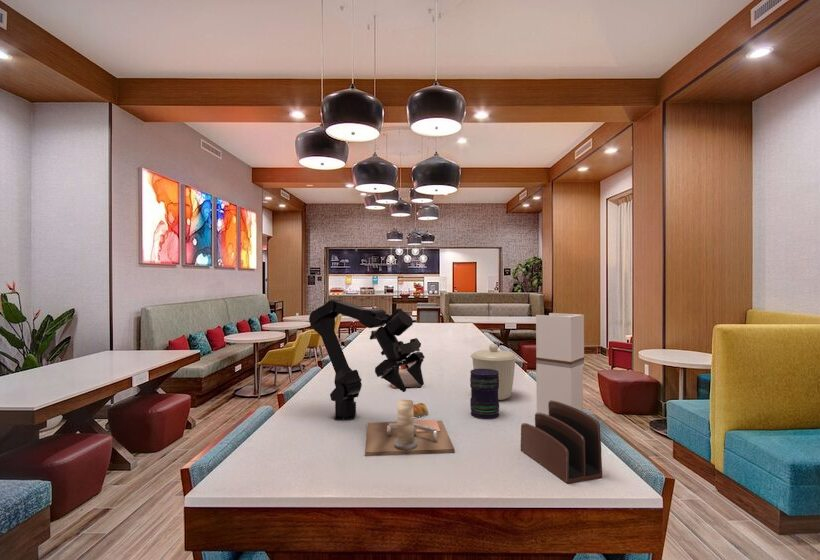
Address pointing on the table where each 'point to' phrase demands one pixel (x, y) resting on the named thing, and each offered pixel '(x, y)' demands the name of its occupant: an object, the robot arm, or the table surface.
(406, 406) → the peg
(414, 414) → the pastry
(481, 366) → the canister
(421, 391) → the table surface
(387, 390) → the table surface
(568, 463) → the letter holder
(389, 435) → the bent metal bar
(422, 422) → the pad
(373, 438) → the board
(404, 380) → the food item
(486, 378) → the storage jar
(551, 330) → the grooved white pillar
